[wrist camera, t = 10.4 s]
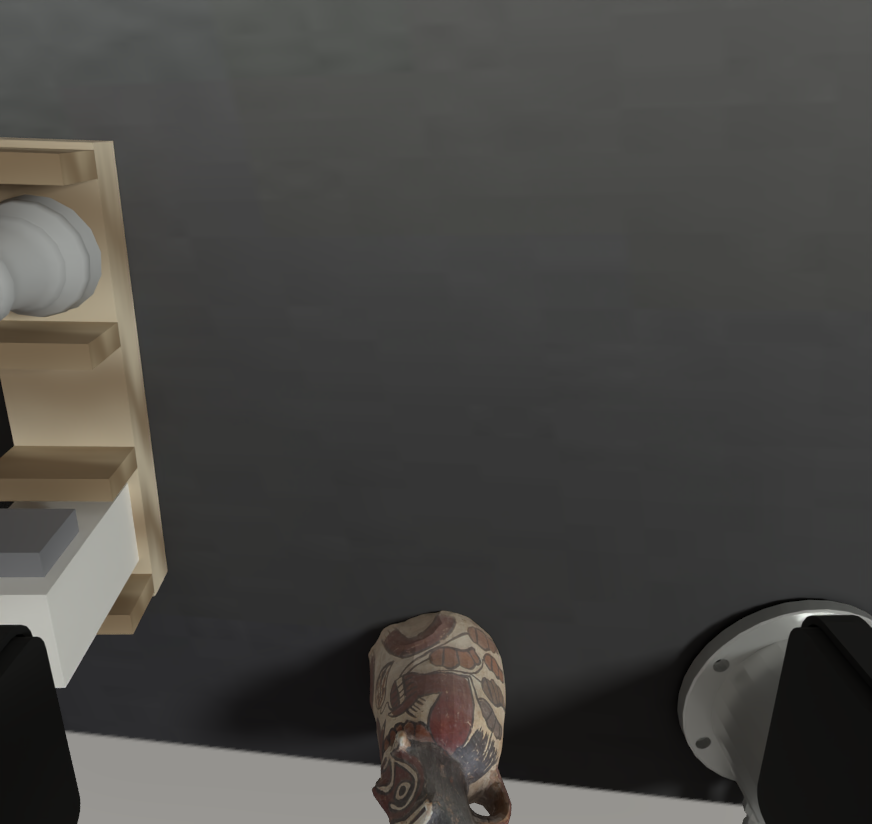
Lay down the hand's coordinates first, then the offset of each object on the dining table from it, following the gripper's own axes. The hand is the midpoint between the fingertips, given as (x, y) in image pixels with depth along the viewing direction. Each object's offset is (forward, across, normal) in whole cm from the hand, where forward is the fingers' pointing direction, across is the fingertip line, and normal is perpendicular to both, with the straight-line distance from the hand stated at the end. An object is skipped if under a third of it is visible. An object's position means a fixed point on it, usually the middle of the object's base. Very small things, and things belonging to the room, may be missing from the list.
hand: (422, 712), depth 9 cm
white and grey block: (+22, +15, +9) cm, 28 cm away
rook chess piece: (+21, +14, -3) cm, 26 cm away
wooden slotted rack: (+23, +15, +3) cm, 28 cm away
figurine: (+25, -1, +20) cm, 31 cm away
